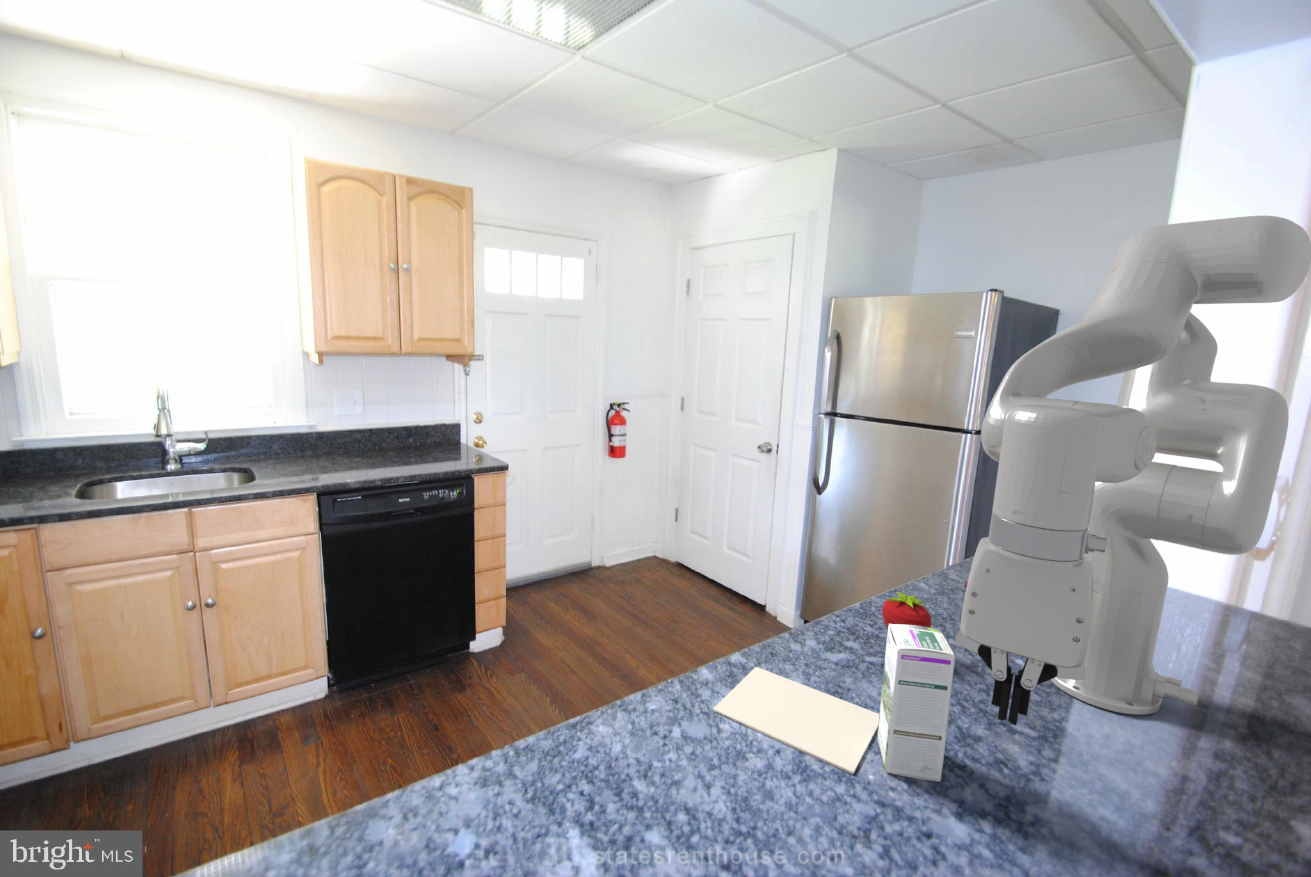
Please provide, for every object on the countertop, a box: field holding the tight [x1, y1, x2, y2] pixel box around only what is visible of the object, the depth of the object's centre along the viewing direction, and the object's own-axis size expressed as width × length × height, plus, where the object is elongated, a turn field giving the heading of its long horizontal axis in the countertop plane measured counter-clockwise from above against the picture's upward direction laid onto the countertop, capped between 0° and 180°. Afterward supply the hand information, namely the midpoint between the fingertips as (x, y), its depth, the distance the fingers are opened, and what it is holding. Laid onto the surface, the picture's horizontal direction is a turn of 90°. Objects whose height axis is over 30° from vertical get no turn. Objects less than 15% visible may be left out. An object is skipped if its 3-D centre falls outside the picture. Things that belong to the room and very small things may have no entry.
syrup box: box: [876, 624, 956, 783], centre depth 62 cm, size 6×6×14 cm
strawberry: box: [881, 586, 933, 629], centre depth 86 cm, size 6×8×10 cm
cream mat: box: [712, 666, 879, 775], centre depth 70 cm, size 17×12×1 cm
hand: (1008, 715), depth 57 cm, fingers closed
